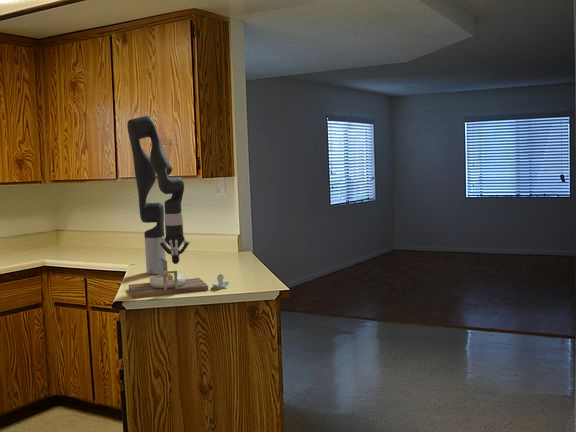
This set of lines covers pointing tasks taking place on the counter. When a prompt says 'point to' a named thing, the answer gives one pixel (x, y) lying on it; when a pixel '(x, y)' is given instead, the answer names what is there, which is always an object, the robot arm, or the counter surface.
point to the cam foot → (158, 280)
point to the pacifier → (220, 283)
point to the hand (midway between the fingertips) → (175, 263)
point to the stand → (189, 286)
